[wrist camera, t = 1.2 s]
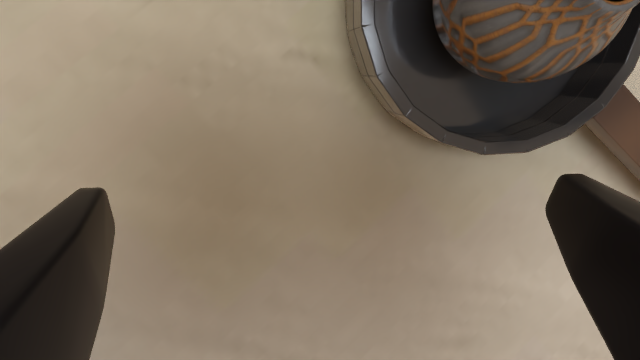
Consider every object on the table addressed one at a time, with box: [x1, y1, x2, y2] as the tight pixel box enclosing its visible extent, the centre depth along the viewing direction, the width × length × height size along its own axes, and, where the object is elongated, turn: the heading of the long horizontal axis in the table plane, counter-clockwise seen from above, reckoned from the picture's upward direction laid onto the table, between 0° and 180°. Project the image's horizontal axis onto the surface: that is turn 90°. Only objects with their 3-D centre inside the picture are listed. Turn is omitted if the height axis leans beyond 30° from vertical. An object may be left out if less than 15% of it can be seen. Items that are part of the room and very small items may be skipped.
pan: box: [346, 0, 640, 155], centre depth 21 cm, size 13×13×3 cm
